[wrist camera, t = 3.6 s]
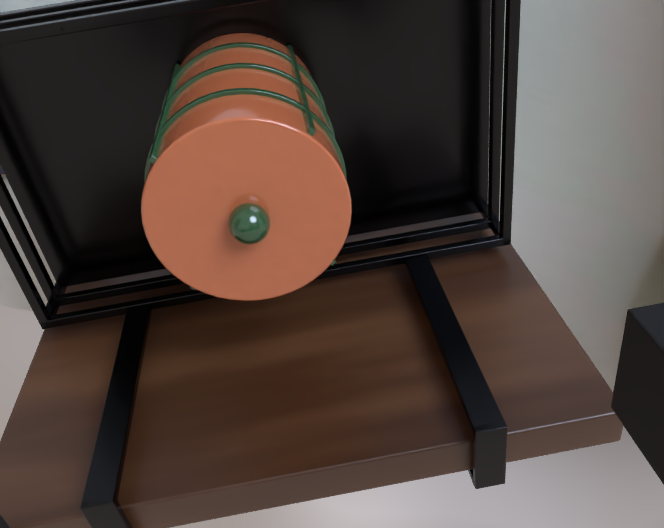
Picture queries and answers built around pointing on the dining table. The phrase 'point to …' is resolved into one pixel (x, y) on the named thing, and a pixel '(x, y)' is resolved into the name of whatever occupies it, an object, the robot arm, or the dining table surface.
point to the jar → (245, 173)
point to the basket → (350, 133)
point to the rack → (298, 391)
